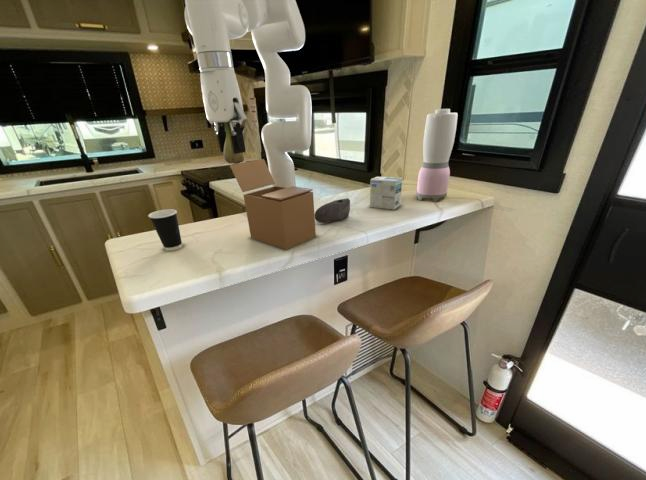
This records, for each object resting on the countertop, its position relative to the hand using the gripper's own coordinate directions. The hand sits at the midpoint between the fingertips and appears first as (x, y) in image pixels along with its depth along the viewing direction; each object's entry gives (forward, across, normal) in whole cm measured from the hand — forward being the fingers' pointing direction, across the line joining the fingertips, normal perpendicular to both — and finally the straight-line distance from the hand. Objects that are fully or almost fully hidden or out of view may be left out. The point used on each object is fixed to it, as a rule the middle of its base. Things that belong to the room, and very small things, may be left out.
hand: (233, 151), depth 79 cm
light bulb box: (+28, +10, +58) cm, 66 cm away
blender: (+28, +19, +82) cm, 88 cm away
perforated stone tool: (+28, +4, +34) cm, 44 cm away
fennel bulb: (+3, 0, 0) cm, 3 cm away
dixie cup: (+27, -21, -15) cm, 37 cm away
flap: (+9, -9, +12) cm, 17 cm away
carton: (+27, +2, +12) cm, 29 cm away
